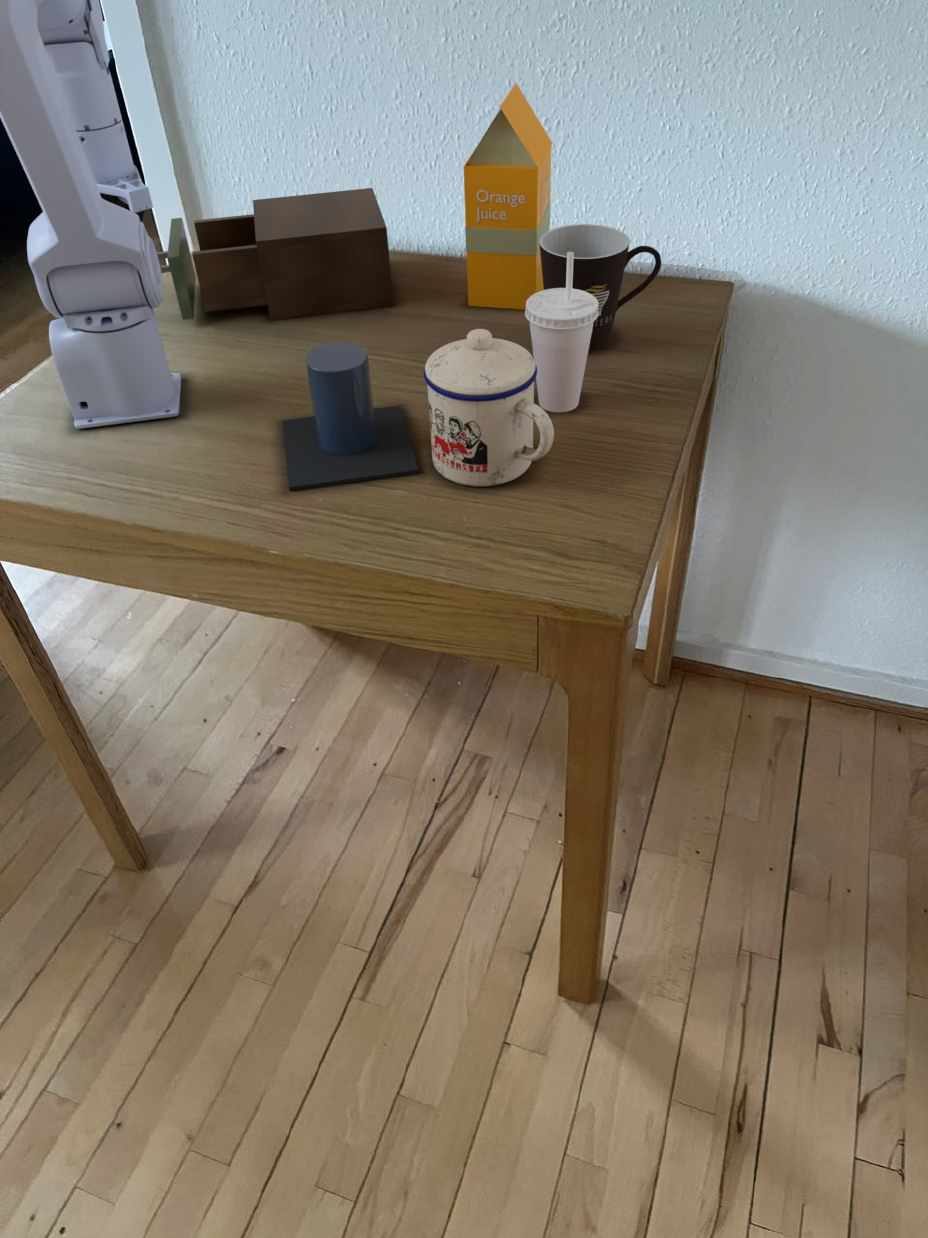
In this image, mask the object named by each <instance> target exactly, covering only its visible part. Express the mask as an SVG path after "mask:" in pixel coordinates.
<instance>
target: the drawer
mask: <svg viewBox="0 0 928 1238" xmlns="http://www.w3.org/2000/svg"><path fill="white" fill-rule="evenodd" d="M193 225H194V229H195V233H196V239H197V242H198V247H199V250H195V251H192V254H191V251H190V246H189V242H188V238H187V232H186V230H185V229H186V228H185V225H184V220H183V217H176V218H171V219H170V227H169V238H168V245H167V246H168V248H167V250H165V251H164V250H163V251H156V252H157V256H158V260H162V259H167V263H168V264H164V265H160V268H161V274H165V273H170V275H171V280H172V284H173V287H174V292H175V295H176V299H177V303H178V307H179V311H180V315H181V319H182V321H185V320H193V319H194V318H195V299H196V297H195V296H196V277H197V281H198V285H199V290H200V294H201V299H202V302H203V307H204V311H205V312H206V313H208V312H209V313H210V312H217V311H225V310H234V309H242V308H251V307H260V306H268V305H267V299H266V294H265V288H264V283H263V277H262V272H261V267H260V261H259V256H258V250H257V245H256V236H255V223H254V213H252V214H242V215H233V216H223V217H213V218H205V219H203V218H202V219H194V220H193ZM193 263H194V264H193Z"/></svg>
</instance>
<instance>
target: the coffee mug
mask: <svg viewBox="0 0 928 1238" xmlns="http://www.w3.org/2000/svg"><path fill="white" fill-rule="evenodd" d="M630 243H631V241H630V238H629V236H628V235H627V234H626V233H624V232H623V231H621V230H619V229H616V228H614V227H610V226H606V225H601V224H592V223H591V224H589V223H587V224H586V223H579V224H569V225H563V226H558V227H555V228H552V229H549V231H548V232H546V233H544V234H543V235H542V236H541V238H540V240H539V245H540V256H541V266H542V277H543V288H544V290H547V289H553V288H566V270H567V252H574V260H573V284H572V289H578V290H582V291H585V292H588V293H590V294H591V295H593V296H594V297H595V298H596V299H597V300H598V303H599V306H598V313H599V315H598V317H597V319H596V320H595V321H594V323H593V329H592V335H591V339H590V345H589V350H588V354H589V353H594V352H597V351H600V350H602V349H604V348H606V347H608V346H609V344H610V342H611V339H612V334H613V330H614V324H615V319H616V314H617V312H618V310H619V309H620V308H621V307H622V306H624V305H625V304H626V303H628V302H629V301H631V300H632V299H633V298H635V297H636V296H637V295H639V294H640V293H641V292H643V291H644V290H645V289H646V288H647V287H648V286H649V285H650V284H651V283H652V282H653V281H654V280H655V278H656V277H657V275H658V274H659V272H660V271H661V267H662V259H661V258H662V257H661V254H660V252H659V251H658V250H657V249H655V248H654V247H653V246H649V245H639V246H636V247H634V248H632V249H630V250H629V248H630ZM641 253H642V254H643V253H648V254H650V255H652V256H653V257H654V261H655V263H654V267H653V270H652V271H651V273H650V274H649V275H648V276H647V278H646V279H645V280H644V281H643V282H642V283H641V284H639V285H638V286H636V287H635V288H634V289H633V290H631V291H629V292H628V293H627V294H626V295H625V296H623V297H621V298H620V295H621V289H622V284H623V278H624V274H625V269H626V268H627V266H628V264H629V262H630V261H631V260H632V259H633V258H634V257H635V256H637V255H638V254H639V255H640V254H641Z"/></svg>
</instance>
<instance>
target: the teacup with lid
mask: <svg viewBox="0 0 928 1238" xmlns="http://www.w3.org/2000/svg"><path fill="white" fill-rule="evenodd" d="M536 375H537V366H536V364H535V361H534V356H533V354H531V353H530V351H528V349H526V348H525V347H524V346H522V345H520V344H518V343H515V342H513V341H510V340H507V339H502V338H496V337H495V338H494V337H493V334H492V333H491V332H490V330H488V329H485V328H476V329H472V330H470V331H469V332H468V333H467V335H466V338H463V339H458V340H455V341H452V342H449V343H447V344H445V345H443V346H441V347H439V348H438V349H436V350H435V351H433V353H432V354H431V355H430V356H429V357H428V359H427V361H426V362H425V365H424V369H423V379H424V382H425V383H426V385H427V398H428V412H429V413H428V414H429V415H428V416H429V428H430V429H429V430H430V441H431V457H432V462H433V463H432V464H433V466H434V468H435V469H436V471H437V472H438V473H439V475H441V476H442V477H444V478H445V479H447V480H449V481H451V482H454V483H456V484H459V485H464V486H469V487H493V486H498V485H502V484H506V483H509V482H511V481H513V480H516V479H517V478H519V477H520V476H522V475H523V474H524V473H525V472H526V471H527V470H528V469H529V467H530V466H531V464H532V463H533V461H537V460H540V459H541V458H544V456H545V455H547V454H548V452H549V451H550V450H551V448H552V445H553V443H554V438H555V431H554V430H555V429H554V424H553V421H552V420H551V418H550V416H549V414H548V413H547V411H546V410H545V409H543V408H542V407H541V406H540V405H539V404H536V403H534V400H535V381H536ZM534 423H535V425H536V427H537V428H538V430H539V444H538V446H537V448H534Z"/></svg>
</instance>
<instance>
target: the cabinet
mask: <svg viewBox="0 0 928 1238" xmlns="http://www.w3.org/2000/svg"><path fill="white" fill-rule="evenodd" d="M377 199H378V198H377V196H376V193H375V191H374V188H373V187H368V188H356V189H348V190H338V191H327V192H318V193H309V194H299V195H290V196H278V197H268V198H261V199H258V198H257V199H252V207H253V214H254V223H255V236H256V245H257V250H258V256H259V261H260V267H261V272H262V277H263V283H264V288H265V294H266V299H267V305H266V306H267V309H268V314H269V315H268V316H269V320H270V321H276V320H286V319H293V318H294V319H295V318H301V317H303V318H304V317H311V316H319V315H327V314H336V313H346V312H352V311H362V310H371V309H379V308H387V307H394V293H393V283H392V272H391V261H390V260H391V259H390V251H389V249H390V248H389V240H388V239H389V238H388V228H387V227H388V226H387V225H386V222H385V219H384V217H383V214H382V211H381V208H380V205H379V202H378V200H377Z"/></svg>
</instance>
